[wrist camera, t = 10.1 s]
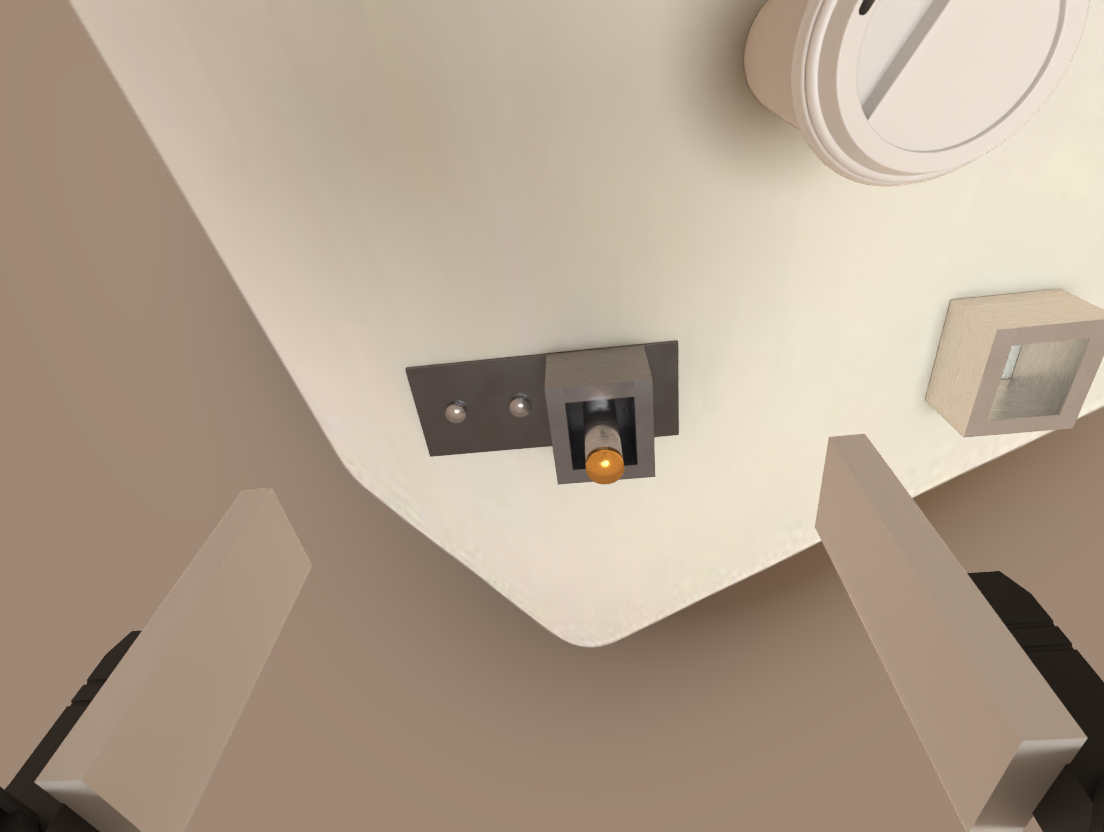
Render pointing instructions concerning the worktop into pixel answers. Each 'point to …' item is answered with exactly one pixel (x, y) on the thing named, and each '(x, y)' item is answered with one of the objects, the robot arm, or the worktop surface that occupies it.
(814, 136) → the coffee cup
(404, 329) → the worktop surface
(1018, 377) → the link
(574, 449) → the grey hollow block
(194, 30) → the worktop surface
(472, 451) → the keeper
